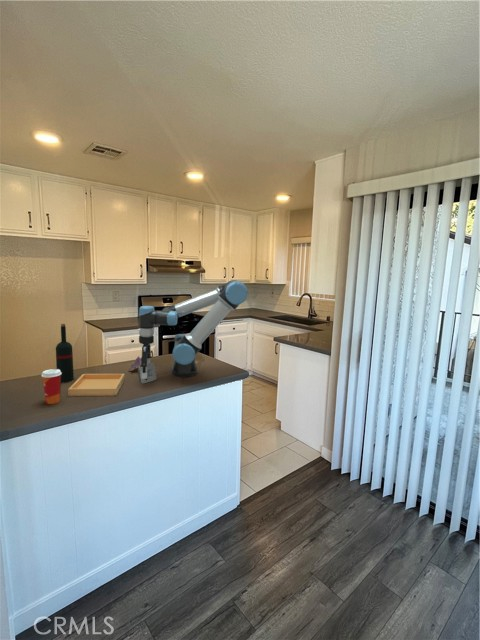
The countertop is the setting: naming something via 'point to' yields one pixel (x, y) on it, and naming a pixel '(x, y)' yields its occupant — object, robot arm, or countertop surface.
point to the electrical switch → (148, 373)
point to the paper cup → (52, 385)
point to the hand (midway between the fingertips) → (146, 374)
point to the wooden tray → (97, 385)
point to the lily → (136, 362)
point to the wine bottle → (64, 357)
